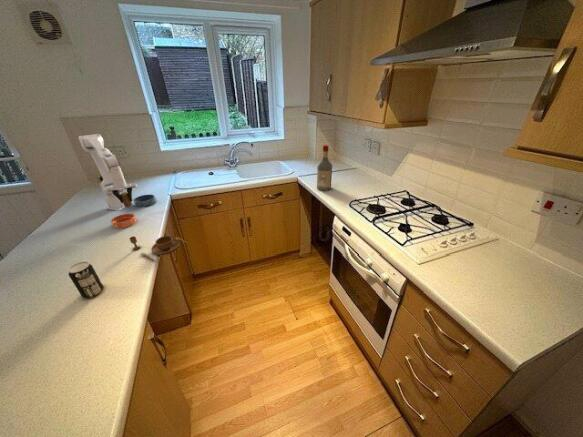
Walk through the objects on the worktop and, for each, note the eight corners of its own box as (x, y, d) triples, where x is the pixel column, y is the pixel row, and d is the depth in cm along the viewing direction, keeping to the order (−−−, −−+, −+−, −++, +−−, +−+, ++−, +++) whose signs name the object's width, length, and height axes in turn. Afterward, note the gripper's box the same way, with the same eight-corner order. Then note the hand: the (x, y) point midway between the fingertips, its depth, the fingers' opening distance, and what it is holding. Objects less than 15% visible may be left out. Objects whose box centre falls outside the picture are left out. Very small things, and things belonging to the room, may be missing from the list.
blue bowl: (131, 207, 152) (128, 201, 150) (144, 199, 162) (142, 194, 160) (147, 208, 150) (145, 202, 148) (160, 200, 160) (158, 194, 158)
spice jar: (122, 206, 135) (117, 194, 131) (128, 203, 139) (123, 191, 135) (128, 207, 134) (124, 194, 131) (134, 204, 138) (129, 192, 134)
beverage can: (90, 286, 90) (75, 261, 85) (108, 285, 91) (94, 260, 85) (77, 299, 85) (61, 274, 79) (97, 298, 85) (82, 272, 79)
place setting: (155, 263, 101) (151, 252, 98) (130, 249, 111) (126, 239, 108) (190, 243, 114) (187, 232, 111) (165, 232, 124) (162, 222, 121)
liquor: (329, 191, 166) (331, 147, 151) (316, 190, 168) (317, 146, 154) (331, 186, 173) (333, 144, 159) (319, 185, 176) (320, 143, 161)
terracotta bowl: (108, 228, 128) (105, 222, 126) (124, 219, 138) (122, 212, 136) (126, 230, 126) (123, 223, 125) (141, 220, 136) (139, 214, 134)
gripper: (100, 183, 123) (111, 207, 129) (133, 178, 129) (141, 201, 135) (102, 179, 128) (112, 202, 135) (133, 174, 134) (141, 196, 141)
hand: (127, 201), depth 135 cm, fingers closed on spice jar, 4 cm apart
